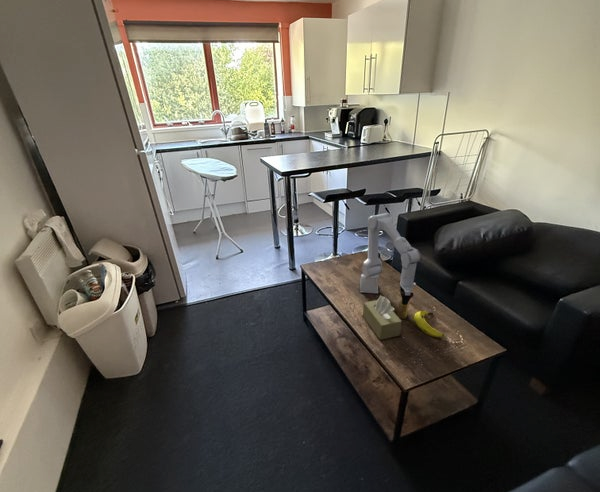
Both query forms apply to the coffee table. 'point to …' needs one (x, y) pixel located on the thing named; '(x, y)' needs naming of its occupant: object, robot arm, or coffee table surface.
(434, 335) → the banana
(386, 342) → the coffee table surface
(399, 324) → the tissue dispenser
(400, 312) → the pepper mill
